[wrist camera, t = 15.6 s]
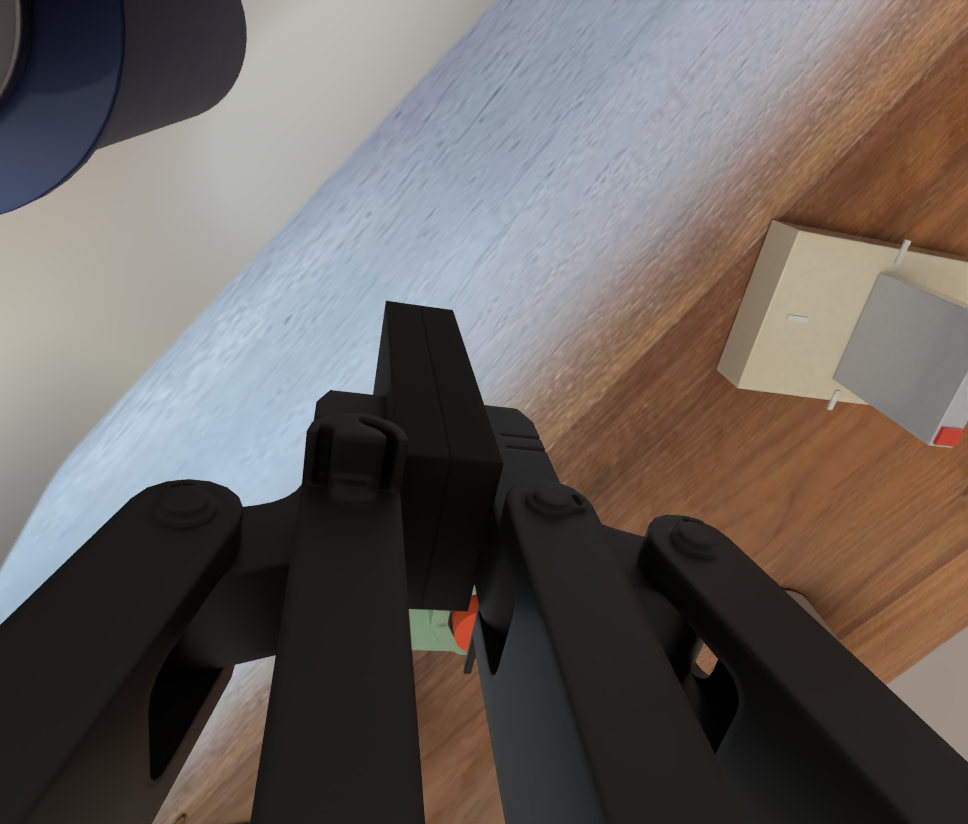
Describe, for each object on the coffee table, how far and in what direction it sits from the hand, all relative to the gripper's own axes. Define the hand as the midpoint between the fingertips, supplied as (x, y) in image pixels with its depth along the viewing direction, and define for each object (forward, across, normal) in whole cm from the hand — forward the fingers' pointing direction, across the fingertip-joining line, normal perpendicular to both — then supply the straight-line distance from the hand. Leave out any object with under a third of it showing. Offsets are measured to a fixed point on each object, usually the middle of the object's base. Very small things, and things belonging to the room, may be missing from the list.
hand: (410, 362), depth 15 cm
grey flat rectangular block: (+21, +30, -3) cm, 37 cm away
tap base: (+24, +30, -3) cm, 39 cm away
